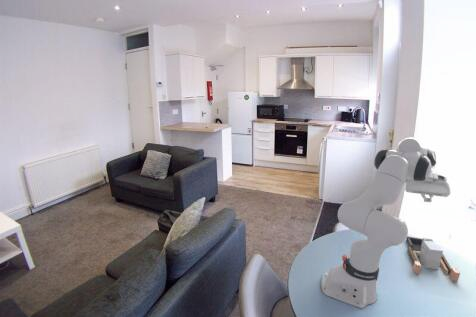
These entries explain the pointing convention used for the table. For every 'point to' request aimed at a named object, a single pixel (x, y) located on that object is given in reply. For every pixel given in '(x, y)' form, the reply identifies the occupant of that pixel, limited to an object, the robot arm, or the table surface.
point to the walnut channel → (441, 258)
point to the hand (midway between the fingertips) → (427, 201)
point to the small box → (430, 254)
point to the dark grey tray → (414, 243)
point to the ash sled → (444, 268)
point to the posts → (453, 275)
